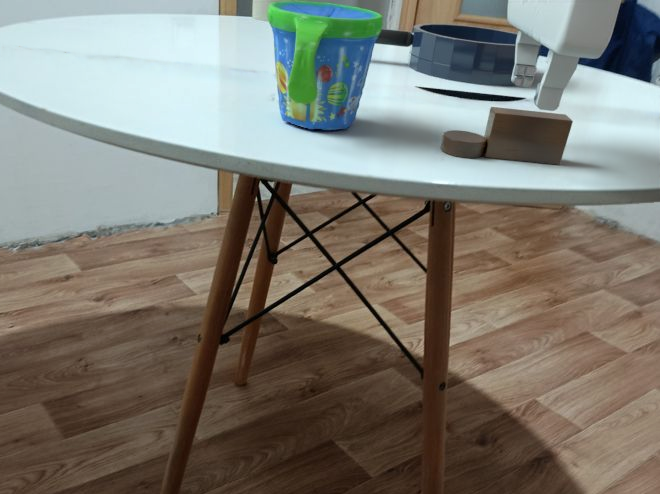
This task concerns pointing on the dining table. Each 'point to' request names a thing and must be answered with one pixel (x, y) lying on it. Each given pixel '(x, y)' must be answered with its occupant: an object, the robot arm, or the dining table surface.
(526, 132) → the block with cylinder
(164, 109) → the dining table surface
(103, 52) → the dining table surface
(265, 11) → the travel mug
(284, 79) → the snack cup
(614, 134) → the dining table surface
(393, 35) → the pan handle
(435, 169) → the dining table surface
